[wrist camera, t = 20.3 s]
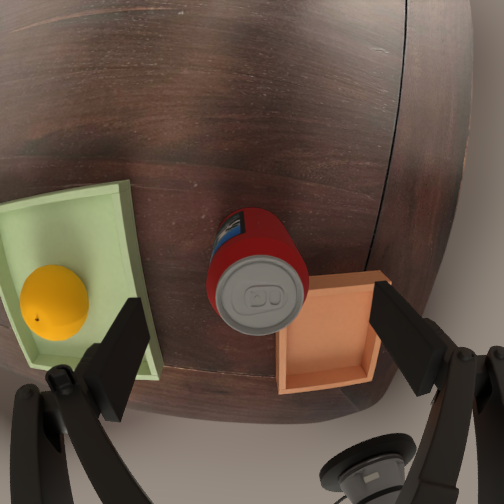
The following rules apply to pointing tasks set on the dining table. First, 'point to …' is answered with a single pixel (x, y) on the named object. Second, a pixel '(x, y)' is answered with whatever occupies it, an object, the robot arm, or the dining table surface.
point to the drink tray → (330, 335)
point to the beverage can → (256, 273)
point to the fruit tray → (76, 265)
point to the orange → (54, 302)
